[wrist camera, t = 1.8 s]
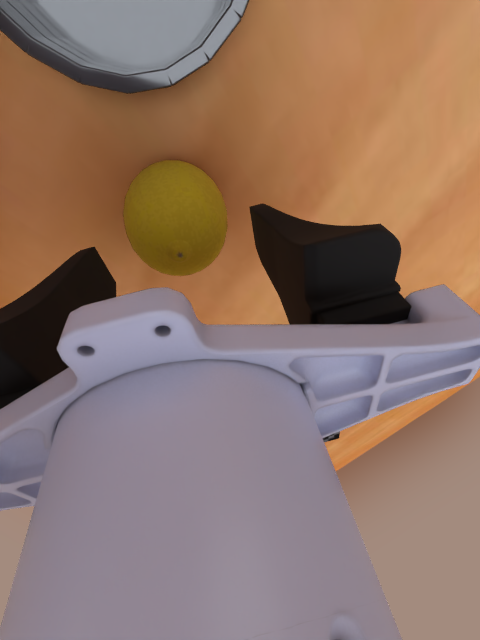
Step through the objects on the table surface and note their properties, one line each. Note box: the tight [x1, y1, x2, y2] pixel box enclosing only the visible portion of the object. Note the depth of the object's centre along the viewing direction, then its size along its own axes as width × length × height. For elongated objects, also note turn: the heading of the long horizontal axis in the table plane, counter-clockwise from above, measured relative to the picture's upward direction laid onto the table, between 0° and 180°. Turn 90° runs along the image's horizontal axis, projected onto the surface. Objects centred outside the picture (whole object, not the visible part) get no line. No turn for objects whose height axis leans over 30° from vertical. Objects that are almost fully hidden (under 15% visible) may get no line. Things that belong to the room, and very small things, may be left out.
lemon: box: [123, 160, 227, 276], centre depth 16 cm, size 6×6×8 cm
